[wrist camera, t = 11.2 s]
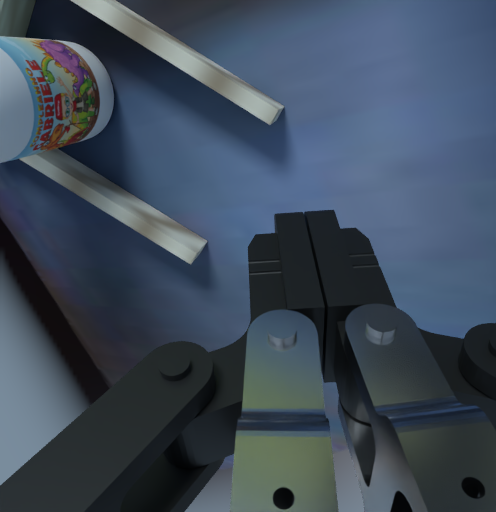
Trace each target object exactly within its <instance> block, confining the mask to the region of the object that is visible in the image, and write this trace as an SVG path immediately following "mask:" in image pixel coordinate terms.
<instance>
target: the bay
mask: <svg viewBox="0 0 496 512" xmlns="http://www.w3.org/2000/svg"><path fill="white" fill-rule="evenodd" d="M71 1H72V2H74V3H75V4H77V5H79V6H80V7H82V8H83V9H85V10H87V11H88V12H90V13H91V14H93V15H95V16H96V17H98V18H99V19H101V20H103V21H104V22H106V23H107V24H109V25H111V26H112V27H114V28H115V29H117V30H119V31H120V32H122V33H123V34H125V35H127V36H128V37H130V38H131V39H133V40H135V41H136V42H138V43H139V44H141V45H143V46H144V47H146V48H147V49H149V50H151V51H152V52H154V53H155V54H157V55H159V56H160V57H162V58H163V59H165V60H167V61H168V62H170V63H171V64H173V65H175V66H176V67H178V68H179V69H181V70H183V71H184V72H186V73H187V74H189V75H191V76H192V77H194V78H195V79H197V80H199V81H200V82H202V83H203V84H205V85H207V86H208V87H210V88H211V89H213V90H215V91H216V92H218V93H219V94H221V95H223V96H224V97H226V98H227V99H229V100H231V101H232V102H234V103H235V104H237V105H239V106H240V107H242V108H243V109H245V110H247V111H248V112H250V113H251V114H253V115H255V116H256V117H258V118H259V119H261V120H263V121H264V122H266V123H267V124H269V125H271V124H272V123H274V122H275V121H276V120H277V119H278V117H279V115H280V113H281V112H282V110H283V108H284V106H283V105H281V104H280V103H278V102H276V101H275V100H273V99H272V98H270V97H269V96H267V95H265V94H264V93H262V92H261V91H259V90H257V89H256V88H254V87H253V86H251V85H249V84H248V83H246V82H245V81H243V80H241V79H240V78H238V77H237V76H235V75H233V74H232V73H230V72H229V71H227V70H225V69H224V68H222V67H221V66H219V65H217V64H216V63H214V62H213V61H211V60H209V59H208V58H206V57H205V56H203V55H202V54H200V53H198V52H197V51H195V50H194V49H192V48H190V47H189V46H187V45H186V44H184V43H182V42H181V41H179V40H178V39H176V38H174V37H173V36H171V35H170V34H168V33H166V32H165V31H163V30H162V29H160V28H158V27H157V26H155V25H154V24H152V23H150V22H149V21H147V20H146V19H144V18H143V17H141V16H139V15H138V14H136V13H135V12H133V11H131V10H130V9H128V8H127V7H125V6H123V5H122V4H120V3H119V2H117V1H115V0H71ZM35 2H36V0H0V36H5V37H20V38H25V36H26V33H27V29H28V26H29V22H30V19H31V15H32V12H33V9H34V5H35ZM19 159H20V160H22V161H23V162H25V163H27V164H28V165H30V166H31V167H33V168H35V169H36V170H38V171H40V172H41V173H43V174H44V175H46V176H48V177H49V178H51V179H53V180H54V181H56V182H57V183H59V184H61V185H62V186H64V187H66V188H67V189H69V190H70V191H72V192H74V193H75V194H77V195H79V196H80V197H82V198H83V199H85V200H87V201H88V202H90V203H92V204H93V205H95V206H96V207H98V208H100V209H101V210H103V211H105V212H106V213H108V214H109V215H111V216H113V217H114V218H116V219H117V220H119V221H121V222H122V223H124V224H126V225H127V226H129V227H130V228H132V229H134V230H135V231H137V232H139V233H140V234H142V235H143V236H145V237H147V238H148V239H150V240H152V241H153V242H155V243H156V244H158V245H160V246H161V247H163V248H165V249H166V250H168V251H169V252H171V253H173V254H174V255H176V256H178V257H179V258H181V259H182V260H184V261H186V262H187V263H189V264H192V262H193V261H194V260H195V259H196V258H197V256H198V255H199V254H200V253H201V251H202V250H203V248H204V246H205V244H206V243H207V240H205V239H203V238H202V237H200V236H198V235H197V234H195V233H194V232H192V231H190V230H189V229H187V228H185V227H184V226H182V225H181V224H179V223H177V222H176V221H174V220H173V219H171V218H169V217H168V216H166V215H164V214H163V213H161V212H160V211H158V210H156V209H155V208H153V207H151V206H150V205H148V204H147V203H145V202H143V201H142V200H140V199H139V198H137V197H135V196H134V195H132V194H130V193H129V192H127V191H126V190H124V189H122V188H121V187H119V186H117V185H116V184H114V183H113V182H111V181H109V180H108V179H106V178H105V177H103V176H101V175H100V174H98V173H96V172H95V171H93V170H92V169H90V168H88V167H87V166H85V165H83V164H82V163H80V162H79V161H77V160H75V159H74V158H72V157H71V156H69V155H67V154H66V153H64V152H62V151H61V150H59V149H58V148H56V149H53V150H49V151H45V152H42V153H38V154H34V155H31V156H27V157H23V158H19Z"/></svg>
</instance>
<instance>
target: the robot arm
mask: <svg viewBox="0 0 496 512" xmlns="http://www.w3.org/2000/svg"><path fill="white" fill-rule="evenodd" d="M274 220H275V233H271V234H256V235H255V236H254V238H253V240H252V241H251V243H250V244H249V246H248V261H249V285H250V310H251V321H250V325H249V327H248V329H247V331H246V332H245V334H244V335H243V336H242V337H241V338H240V339H238V340H237V341H236V342H234V343H232V344H231V345H229V346H226V347H224V348H221V349H218V350H215V351H212V352H209V353H208V352H207V351H206V350H205V349H204V348H203V347H201V346H200V345H198V344H195V343H192V342H185V341H179V342H172V343H168V344H165V345H163V346H160V347H158V348H157V349H155V350H154V351H152V352H151V353H150V354H149V355H147V356H146V357H145V358H144V359H143V360H142V361H141V362H140V363H138V364H137V365H136V366H135V367H134V368H133V369H132V370H130V371H129V372H128V373H127V374H126V375H125V376H124V377H123V378H121V379H120V380H119V381H118V382H117V383H116V384H115V385H114V386H112V387H111V388H110V389H109V390H108V391H107V392H106V393H105V394H103V395H102V396H101V397H100V398H99V399H98V400H97V401H95V402H94V403H93V404H92V405H91V406H90V407H89V408H88V409H86V410H85V411H84V412H83V413H82V414H81V415H80V416H78V417H77V418H76V419H75V420H74V421H73V422H72V423H71V424H69V425H68V426H67V427H66V428H65V429H64V430H63V431H62V432H60V433H59V434H58V435H57V436H56V437H55V438H54V439H52V440H51V441H50V442H49V443H48V444H47V445H46V446H45V447H43V448H42V449H41V450H40V451H39V452H38V453H37V454H35V455H34V456H33V457H32V458H31V459H30V460H29V461H28V462H26V463H25V464H24V465H23V466H22V467H21V468H20V469H19V470H18V471H16V472H15V473H14V474H13V475H12V476H11V477H10V478H8V479H7V480H6V481H5V482H4V483H3V484H2V485H0V512H184V511H185V510H186V509H187V508H188V507H189V505H190V504H191V503H192V502H193V500H194V499H195V498H196V497H197V495H198V494H199V493H200V492H201V490H202V489H203V488H204V487H205V485H206V484H207V483H208V481H209V480H210V479H211V478H212V476H213V475H214V474H215V473H216V471H217V470H218V469H219V468H220V466H221V465H222V463H223V461H224V459H225V457H227V456H230V455H232V454H234V464H233V478H232V489H231V502H230V512H338V503H337V493H336V483H335V473H334V463H333V453H332V443H331V433H330V426H329V421H328V418H326V416H325V407H324V397H323V386H322V374H323V379H324V383H326V382H336V384H337V389H338V393H339V400H338V414H339V418H340V421H341V425H342V428H343V432H344V435H345V438H346V442H347V445H348V449H349V452H350V455H351V459H352V462H353V466H354V469H355V472H356V476H357V479H358V483H359V486H360V489H361V493H362V498H363V503H364V512H496V323H487V324H481V325H477V326H475V327H473V328H471V329H470V330H469V331H468V332H467V333H466V335H465V337H464V339H461V338H456V337H450V336H445V335H439V334H434V333H430V332H427V331H424V330H422V329H420V328H418V327H417V326H416V324H415V322H414V321H413V319H412V318H411V317H410V316H409V315H408V314H406V313H405V312H403V311H402V310H400V309H398V308H397V307H396V305H395V303H394V300H393V298H392V295H391V293H390V290H389V288H388V285H387V283H386V280H385V278H384V275H383V273H382V271H381V268H380V266H379V263H378V261H377V258H376V256H375V255H374V251H373V248H372V246H371V244H370V241H369V239H368V238H367V237H366V236H365V235H363V234H362V233H361V232H360V231H359V230H358V229H356V228H344V229H340V227H339V224H338V220H337V217H336V214H335V212H334V210H323V211H308V212H305V213H304V214H303V212H295V213H280V214H275V216H274Z"/></svg>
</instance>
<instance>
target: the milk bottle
mask: <svg viewBox="0 0 496 512" xmlns="http://www.w3.org/2000/svg"><path fill="white" fill-rule="evenodd" d="M113 106H114V92H113V85H112V83H111V79H110V76H109V74H108V73H107V70H106V68H105V67H104V66H103V64H102V63H101V61H100V60H99V59H98V58H97V57H96V56H95V55H94V54H93V53H92V52H91V51H89V50H88V49H86V48H85V47H83V46H81V45H79V44H76V43H72V42H67V41H59V40H47V39H34V38H20V37H5V36H0V163H2V162H7V161H11V160H16V159H19V158H23V157H27V156H31V155H34V154H38V153H42V152H45V151H49V150H53V149H56V148H60V147H63V146H67V145H70V144H74V143H77V142H81V141H84V140H87V139H89V138H92V137H94V136H96V135H97V134H99V133H100V132H101V131H102V130H103V129H104V128H105V126H106V125H107V123H108V122H109V120H110V117H111V115H112V111H113Z"/></svg>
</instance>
